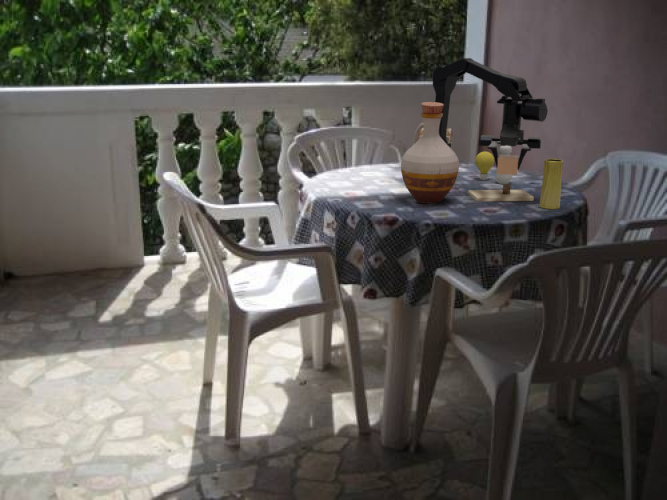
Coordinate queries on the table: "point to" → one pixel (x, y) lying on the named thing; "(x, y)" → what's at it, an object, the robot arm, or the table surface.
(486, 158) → the light bulb
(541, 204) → the vase
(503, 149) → the salt shaker
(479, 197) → the base board
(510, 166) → the orange block
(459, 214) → the table surface
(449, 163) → the jug
